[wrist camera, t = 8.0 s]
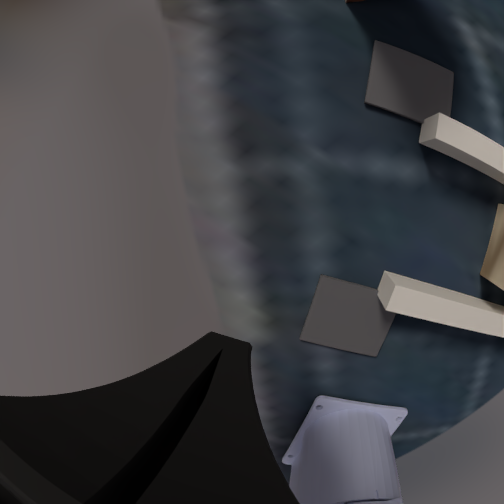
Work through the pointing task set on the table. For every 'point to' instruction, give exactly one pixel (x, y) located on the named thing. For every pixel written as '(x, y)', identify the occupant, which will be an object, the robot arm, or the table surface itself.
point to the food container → (353, 1)
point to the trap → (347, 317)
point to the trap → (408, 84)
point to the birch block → (495, 252)
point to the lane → (431, 296)
